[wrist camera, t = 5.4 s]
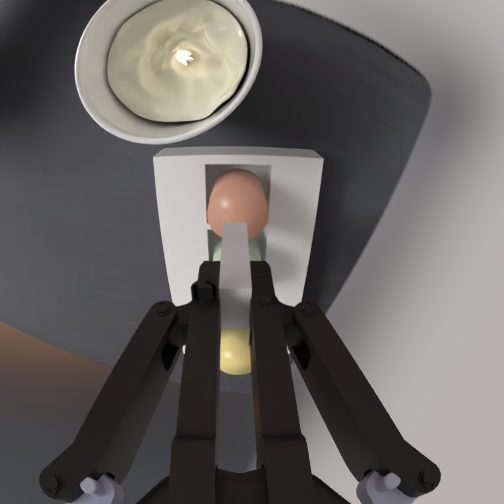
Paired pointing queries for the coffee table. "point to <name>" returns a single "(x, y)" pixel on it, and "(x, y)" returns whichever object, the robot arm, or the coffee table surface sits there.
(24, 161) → the coffee table surface
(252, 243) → the pale green rounded piece
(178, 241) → the white slotted tray
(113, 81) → the candle holder
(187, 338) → the robot arm
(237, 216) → the orange rounded piece
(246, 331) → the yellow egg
